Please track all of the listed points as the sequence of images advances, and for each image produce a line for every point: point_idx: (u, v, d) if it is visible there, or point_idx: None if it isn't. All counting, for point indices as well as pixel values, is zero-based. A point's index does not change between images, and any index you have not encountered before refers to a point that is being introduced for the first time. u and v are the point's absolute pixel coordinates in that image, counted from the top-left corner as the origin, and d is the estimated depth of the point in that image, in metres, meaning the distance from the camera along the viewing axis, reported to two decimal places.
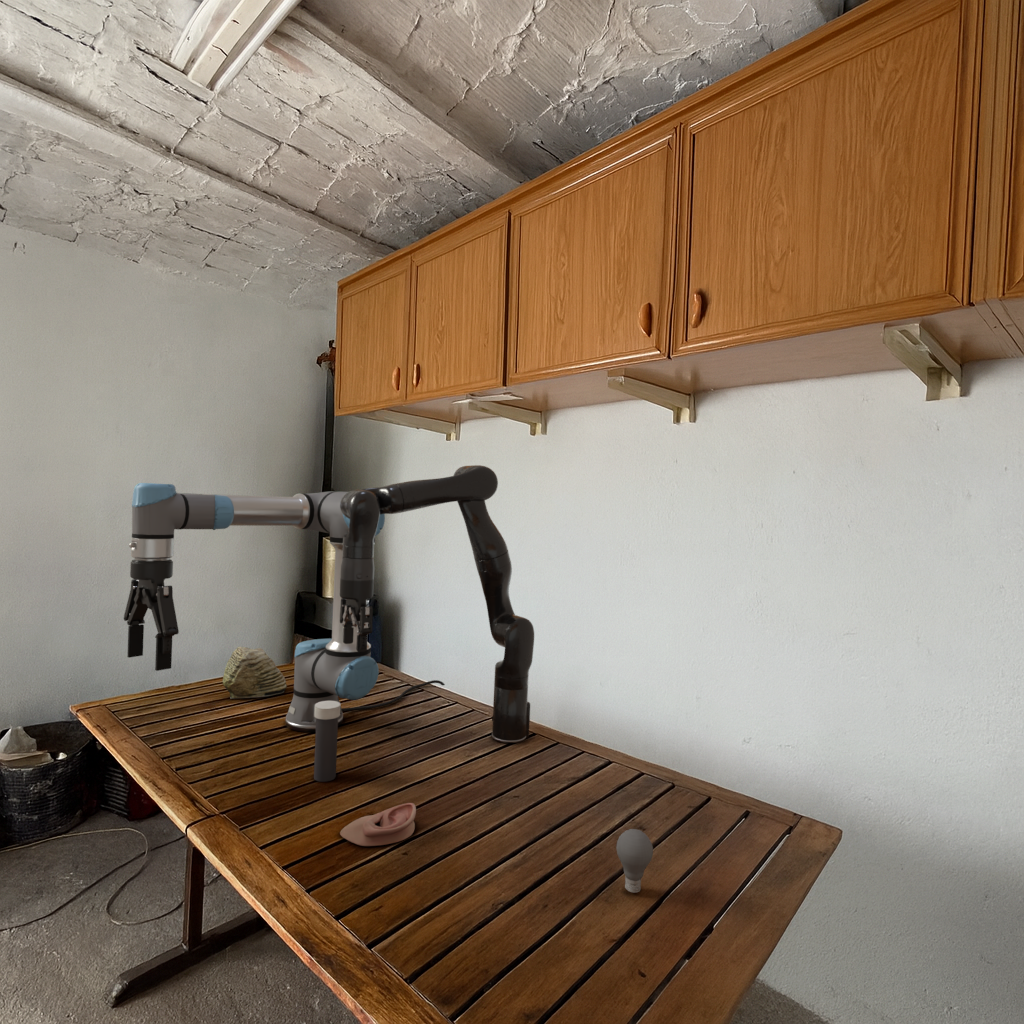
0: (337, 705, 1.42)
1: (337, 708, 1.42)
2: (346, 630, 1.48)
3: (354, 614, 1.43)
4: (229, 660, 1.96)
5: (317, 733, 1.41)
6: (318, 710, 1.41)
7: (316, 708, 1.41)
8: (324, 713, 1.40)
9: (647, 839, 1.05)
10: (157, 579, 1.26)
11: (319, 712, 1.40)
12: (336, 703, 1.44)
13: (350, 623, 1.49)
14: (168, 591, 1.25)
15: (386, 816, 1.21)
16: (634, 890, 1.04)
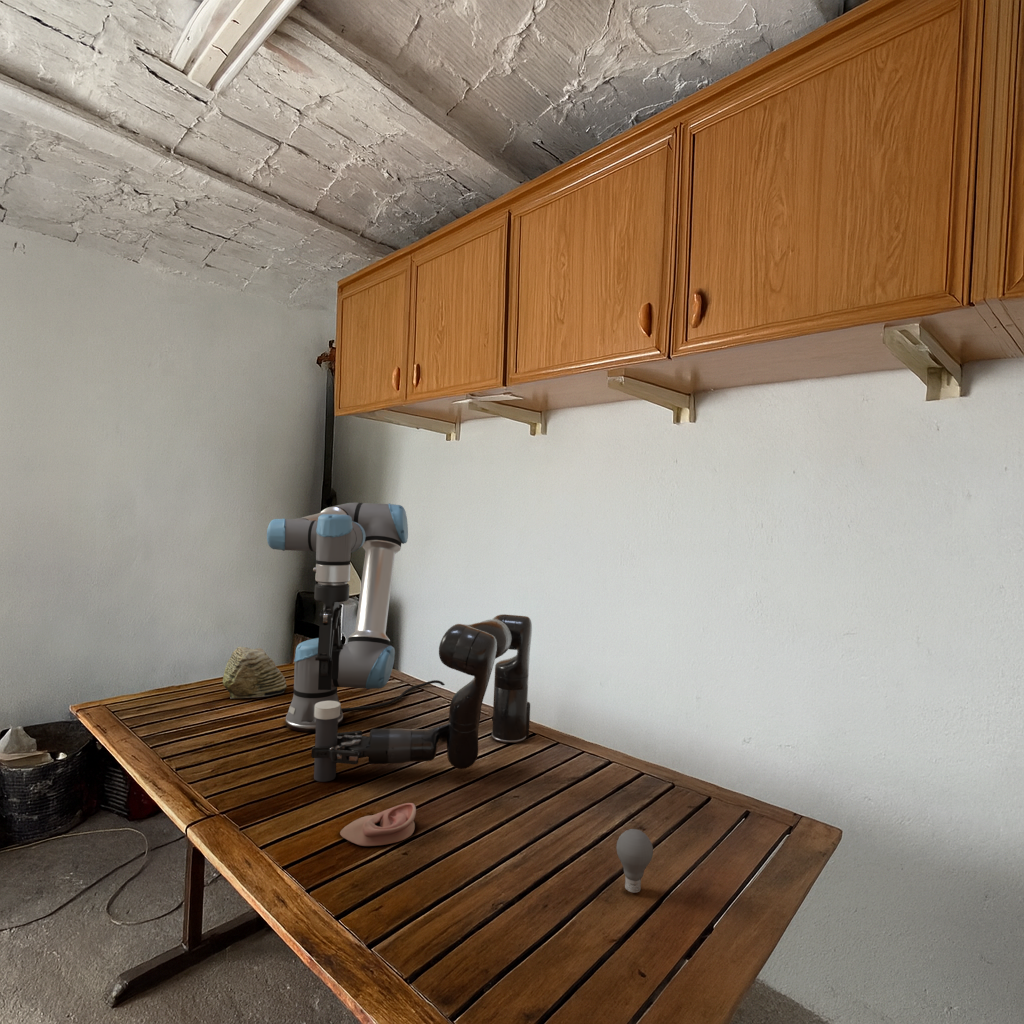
0: (337, 705, 1.42)
1: (337, 708, 1.42)
2: None
3: None
4: (229, 660, 1.96)
5: (317, 733, 1.41)
6: (318, 710, 1.41)
7: (316, 708, 1.41)
8: (324, 713, 1.40)
9: (647, 839, 1.05)
10: (326, 602, 1.39)
11: (319, 712, 1.40)
12: (336, 703, 1.44)
13: None
14: (327, 619, 1.36)
15: (386, 816, 1.21)
16: (634, 890, 1.04)
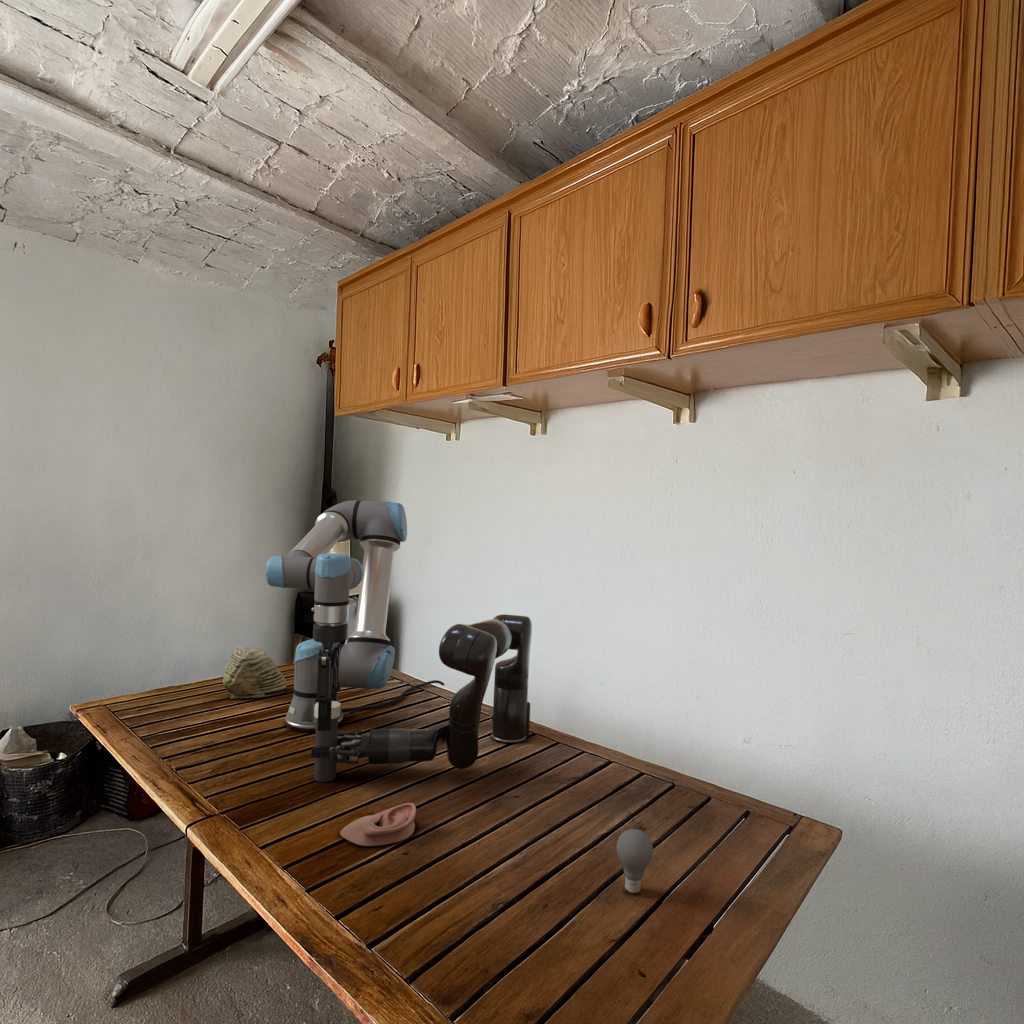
0: (337, 705, 1.42)
1: (337, 708, 1.42)
2: None
3: None
4: (229, 660, 1.96)
5: (317, 733, 1.41)
6: None
7: (316, 708, 1.41)
8: None
9: (647, 839, 1.05)
10: (325, 643, 1.39)
11: None
12: (336, 703, 1.44)
13: None
14: (325, 662, 1.36)
15: (386, 816, 1.21)
16: (634, 890, 1.04)
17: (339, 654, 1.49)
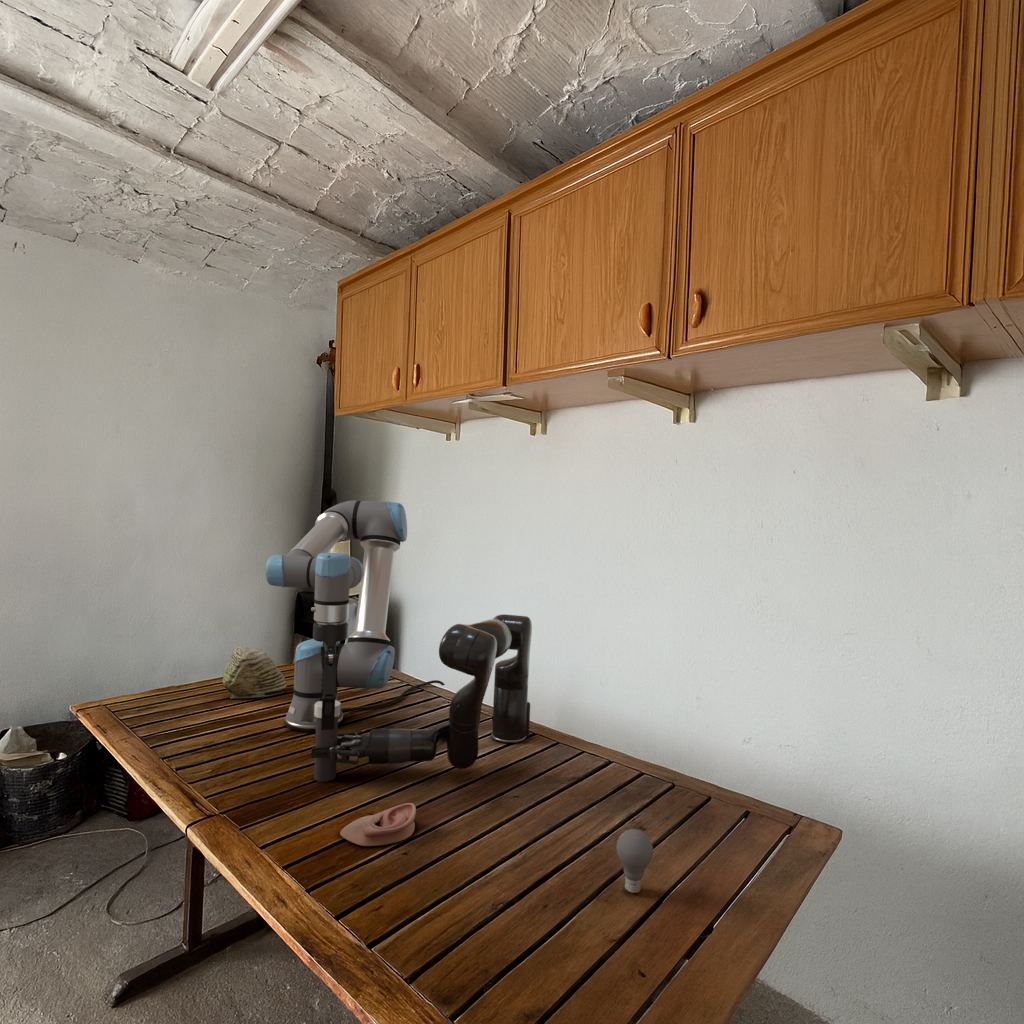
0: (335, 701, 1.45)
1: None
2: None
3: None
4: (229, 660, 1.96)
5: (317, 733, 1.41)
6: None
7: None
8: (337, 710, 1.42)
9: (647, 839, 1.05)
10: (329, 642, 1.39)
11: None
12: None
13: None
14: (332, 660, 1.36)
15: (386, 816, 1.21)
16: (634, 890, 1.04)
17: None
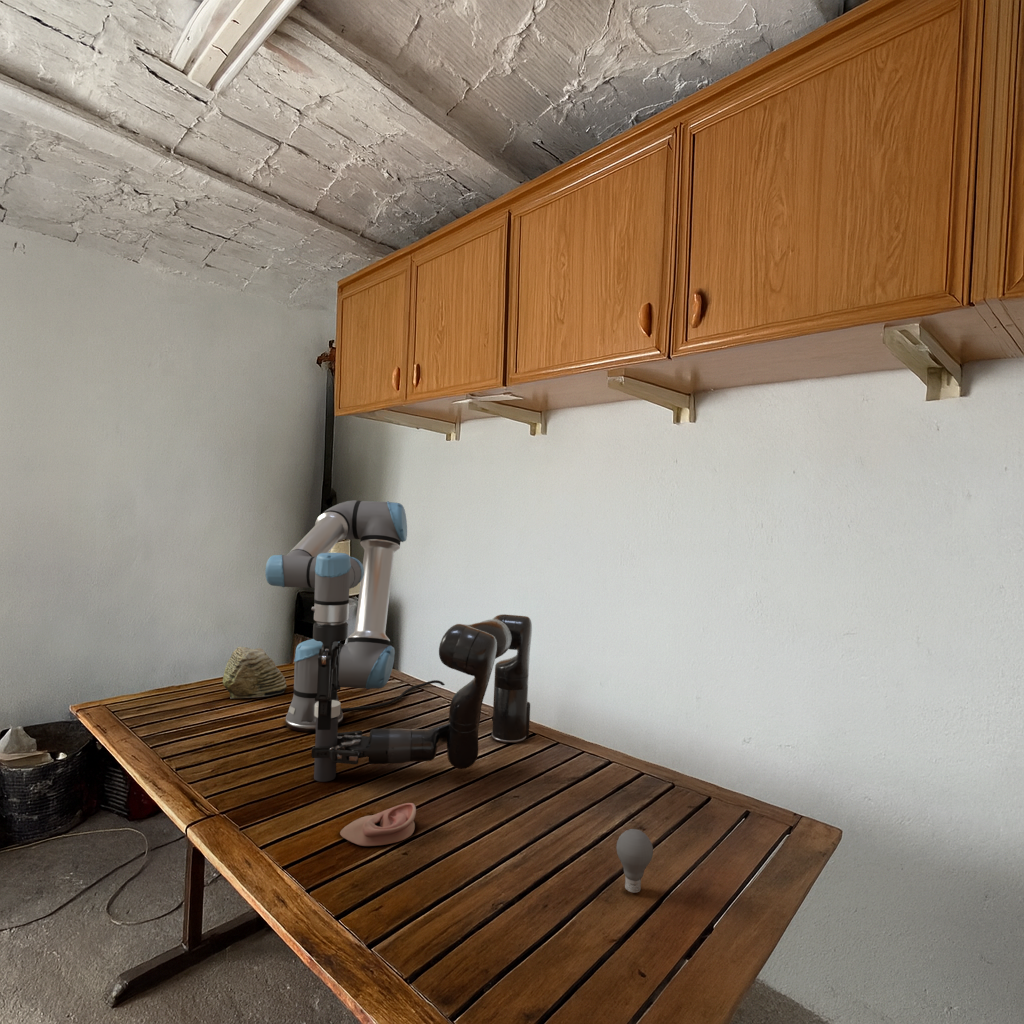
0: (335, 701, 1.45)
1: None
2: None
3: None
4: (229, 660, 1.96)
5: (317, 733, 1.41)
6: (331, 710, 1.41)
7: None
8: (337, 710, 1.42)
9: (647, 839, 1.05)
10: (325, 642, 1.39)
11: (333, 711, 1.41)
12: None
13: None
14: (325, 661, 1.36)
15: (386, 816, 1.21)
16: (634, 890, 1.04)
17: (339, 653, 1.49)
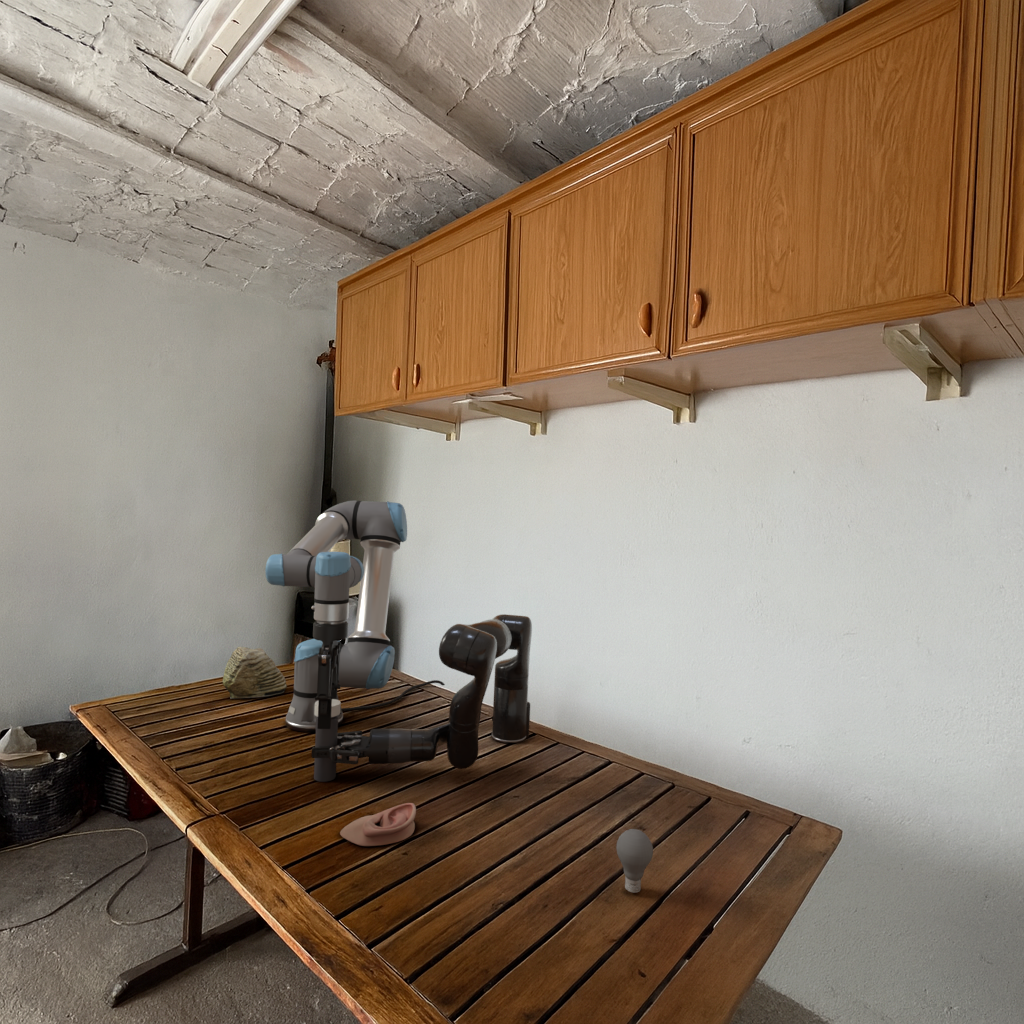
0: None
1: None
2: None
3: None
4: (229, 660, 1.96)
5: (317, 733, 1.41)
6: (339, 705, 1.43)
7: (340, 704, 1.43)
8: None
9: (647, 839, 1.05)
10: (325, 641, 1.39)
11: None
12: None
13: None
14: (325, 661, 1.36)
15: (386, 816, 1.21)
16: (634, 890, 1.04)
17: (339, 652, 1.49)
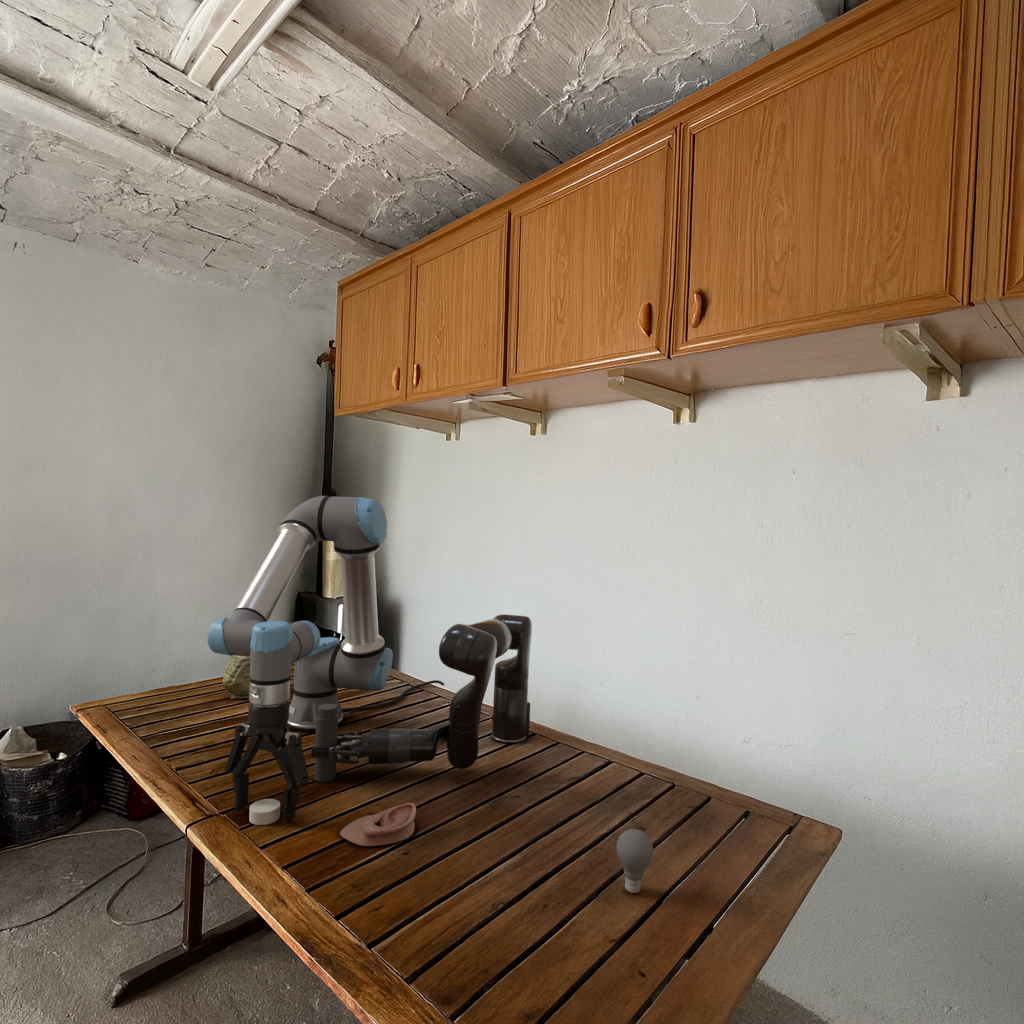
0: (252, 806, 1.24)
1: None
2: None
3: None
4: (229, 660, 1.96)
5: (317, 733, 1.41)
6: None
7: None
8: None
9: (647, 839, 1.05)
10: (283, 724, 1.23)
11: None
12: (255, 809, 1.23)
13: None
14: (299, 739, 1.22)
15: (386, 816, 1.21)
16: (634, 890, 1.04)
17: None
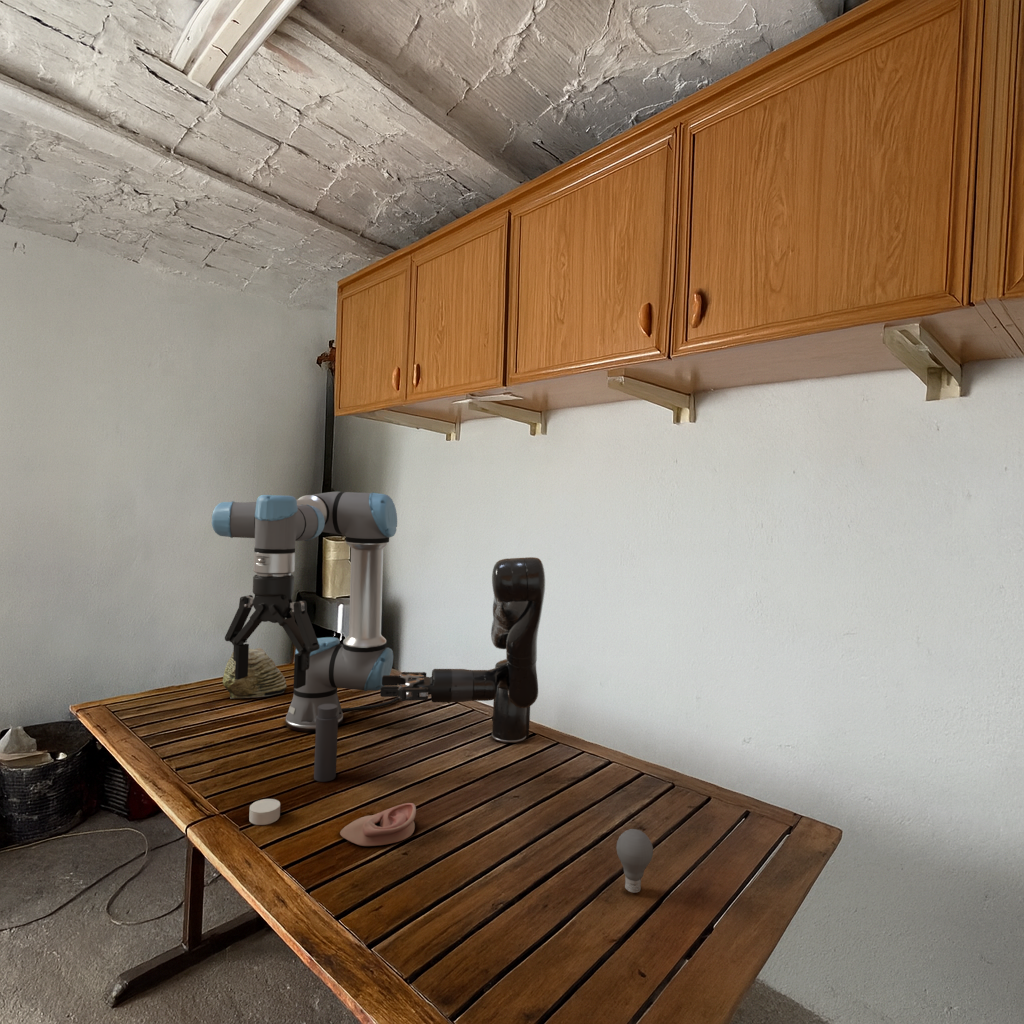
0: (252, 806, 1.24)
1: None
2: None
3: None
4: (229, 660, 1.96)
5: (317, 733, 1.41)
6: None
7: None
8: None
9: (647, 839, 1.05)
10: (288, 595, 1.22)
11: None
12: (255, 809, 1.23)
13: None
14: (304, 606, 1.22)
15: (386, 816, 1.21)
16: (634, 890, 1.04)
17: None
